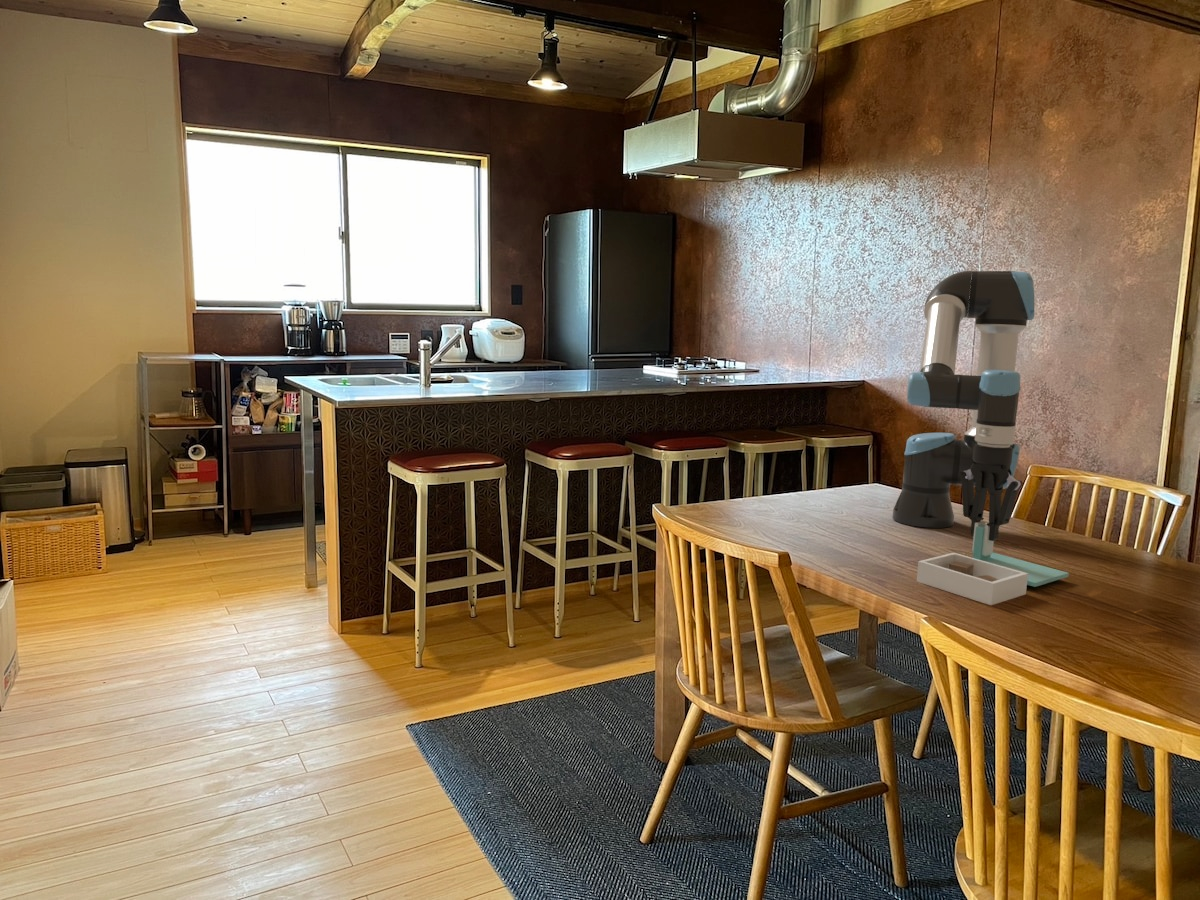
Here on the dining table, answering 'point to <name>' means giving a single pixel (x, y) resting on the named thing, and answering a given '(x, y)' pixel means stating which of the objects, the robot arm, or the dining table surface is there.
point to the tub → (973, 579)
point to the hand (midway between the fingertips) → (982, 552)
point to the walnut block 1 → (962, 567)
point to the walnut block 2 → (987, 578)
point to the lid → (1017, 563)
